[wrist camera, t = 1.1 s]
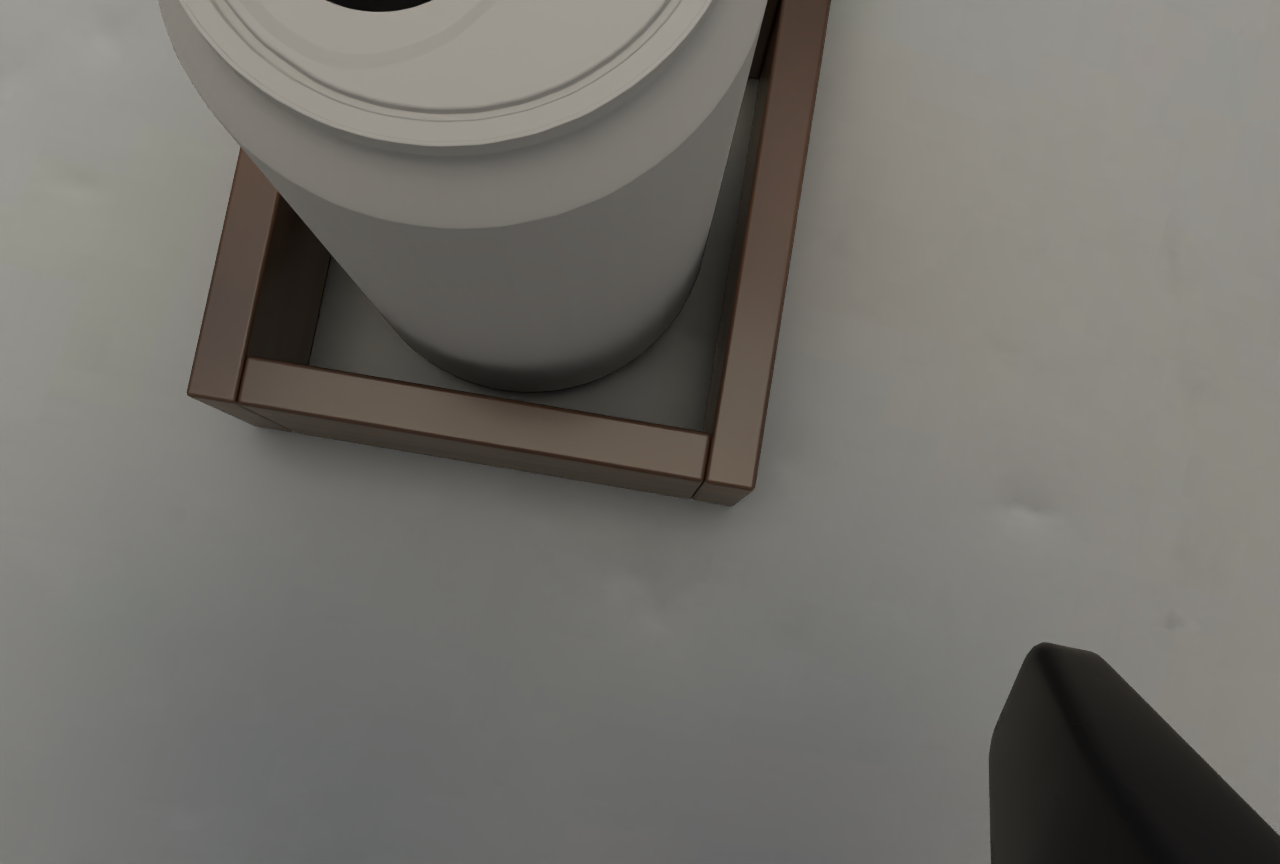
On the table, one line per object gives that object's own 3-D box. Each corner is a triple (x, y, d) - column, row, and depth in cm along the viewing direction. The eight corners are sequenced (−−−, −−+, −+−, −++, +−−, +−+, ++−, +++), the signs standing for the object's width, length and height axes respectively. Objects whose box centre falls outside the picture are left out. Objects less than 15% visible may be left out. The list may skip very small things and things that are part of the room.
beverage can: (308, 162, 23) (-25, -296, 11) (609, 16, 24) (597, -570, 12) (458, 459, 22) (273, 307, 11) (765, 302, 23) (920, -12, 11)
